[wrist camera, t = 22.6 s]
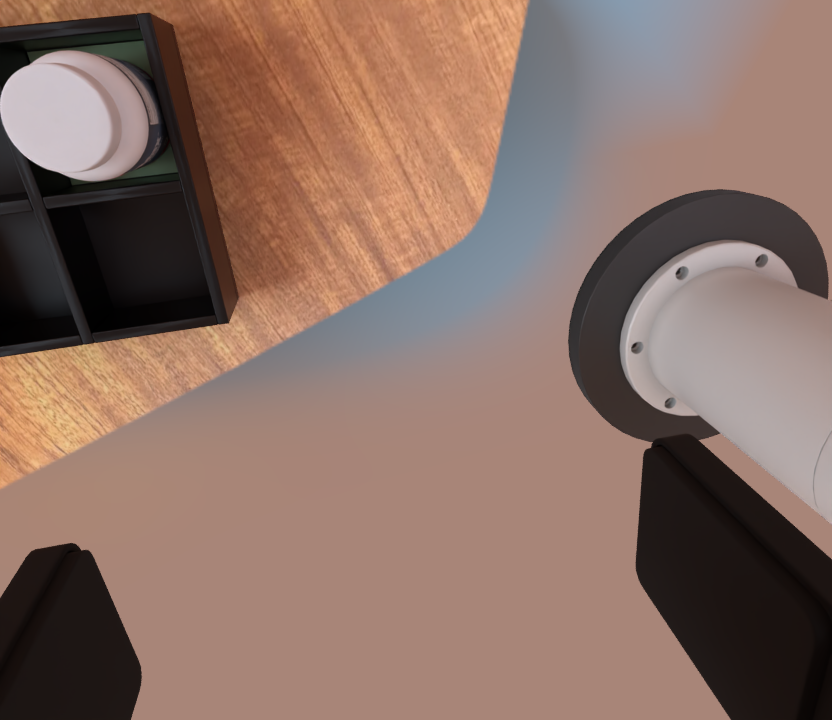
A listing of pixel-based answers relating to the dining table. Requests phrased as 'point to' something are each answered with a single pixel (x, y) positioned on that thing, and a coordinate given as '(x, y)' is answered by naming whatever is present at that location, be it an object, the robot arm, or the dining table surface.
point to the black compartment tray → (109, 213)
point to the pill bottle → (84, 115)
